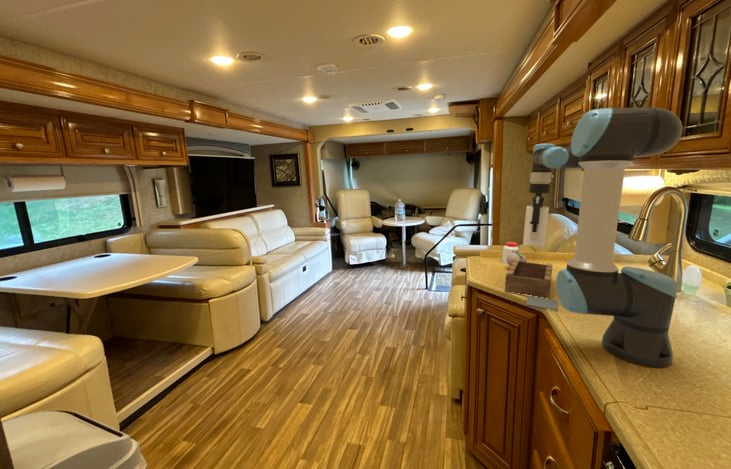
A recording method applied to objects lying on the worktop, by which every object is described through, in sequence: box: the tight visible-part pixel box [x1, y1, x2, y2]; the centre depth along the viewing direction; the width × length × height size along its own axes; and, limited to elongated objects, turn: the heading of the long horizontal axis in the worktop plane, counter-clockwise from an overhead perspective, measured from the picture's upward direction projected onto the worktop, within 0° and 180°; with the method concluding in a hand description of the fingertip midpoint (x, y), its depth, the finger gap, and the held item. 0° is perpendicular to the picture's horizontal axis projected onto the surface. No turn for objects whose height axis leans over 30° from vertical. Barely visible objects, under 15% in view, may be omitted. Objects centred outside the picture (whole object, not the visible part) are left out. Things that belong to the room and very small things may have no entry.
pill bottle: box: [501, 241, 520, 265], centre depth 176 cm, size 8×8×11 cm
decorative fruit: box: [507, 250, 528, 267], centre depth 164 cm, size 9×8×10 cm
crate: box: [504, 259, 553, 299], centre depth 142 cm, size 26×16×8 cm, turn 150°
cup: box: [522, 205, 550, 248], centre depth 137 cm, size 8×8×16 cm
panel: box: [525, 295, 559, 312], centre depth 124 cm, size 10×10×1 cm
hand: (534, 237), depth 138 cm, fingers closed on cup, 8 cm apart
